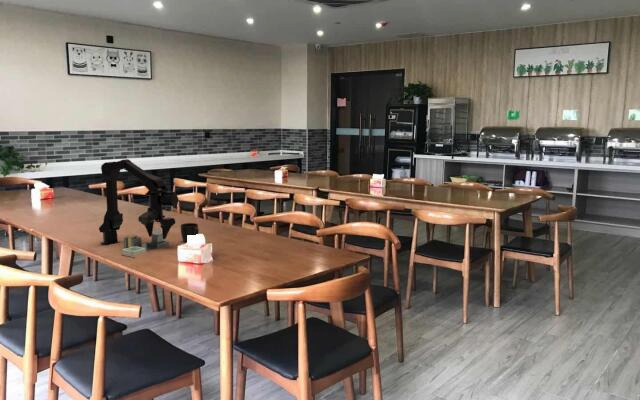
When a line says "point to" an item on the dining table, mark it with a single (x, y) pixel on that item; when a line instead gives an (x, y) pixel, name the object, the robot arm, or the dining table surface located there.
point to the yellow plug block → (130, 239)
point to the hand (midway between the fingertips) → (157, 237)
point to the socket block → (144, 244)
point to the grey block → (157, 236)
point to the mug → (188, 230)
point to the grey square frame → (133, 251)
